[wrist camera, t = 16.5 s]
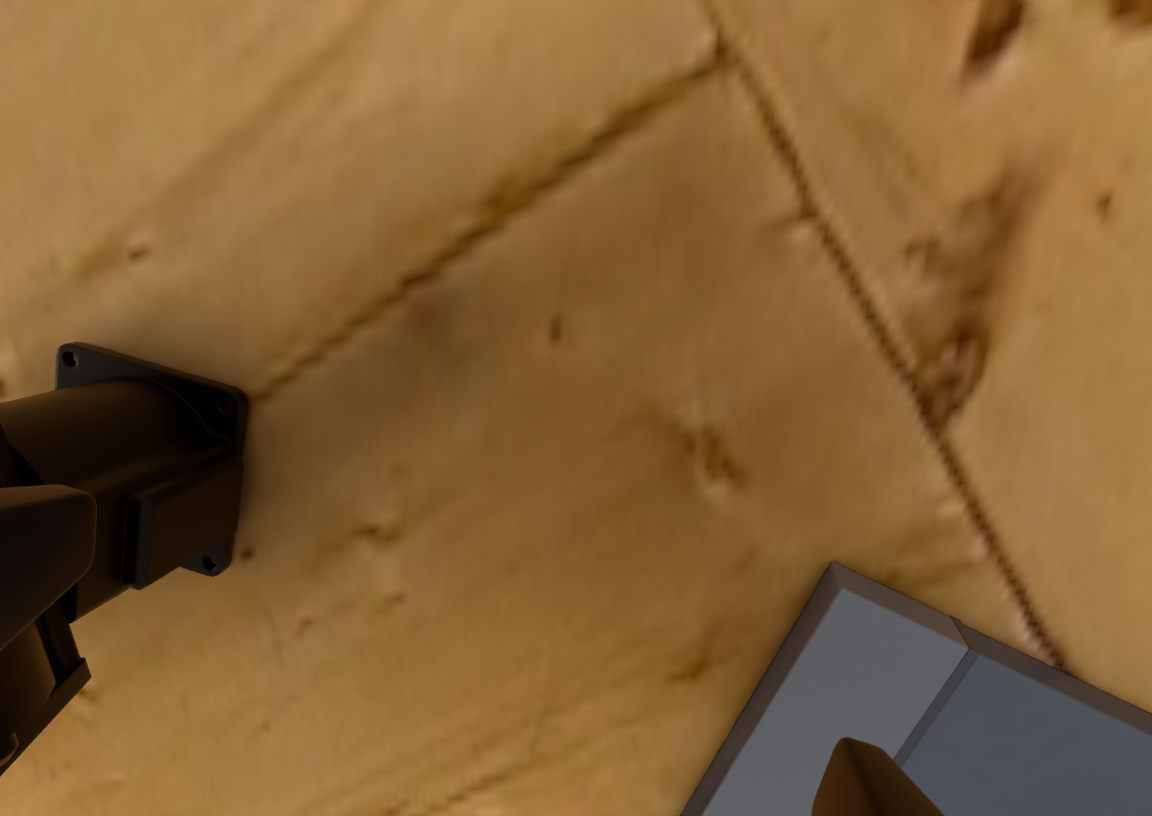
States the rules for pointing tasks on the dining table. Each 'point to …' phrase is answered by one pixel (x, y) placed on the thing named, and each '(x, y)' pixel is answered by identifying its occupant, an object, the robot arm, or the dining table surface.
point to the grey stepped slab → (926, 718)
